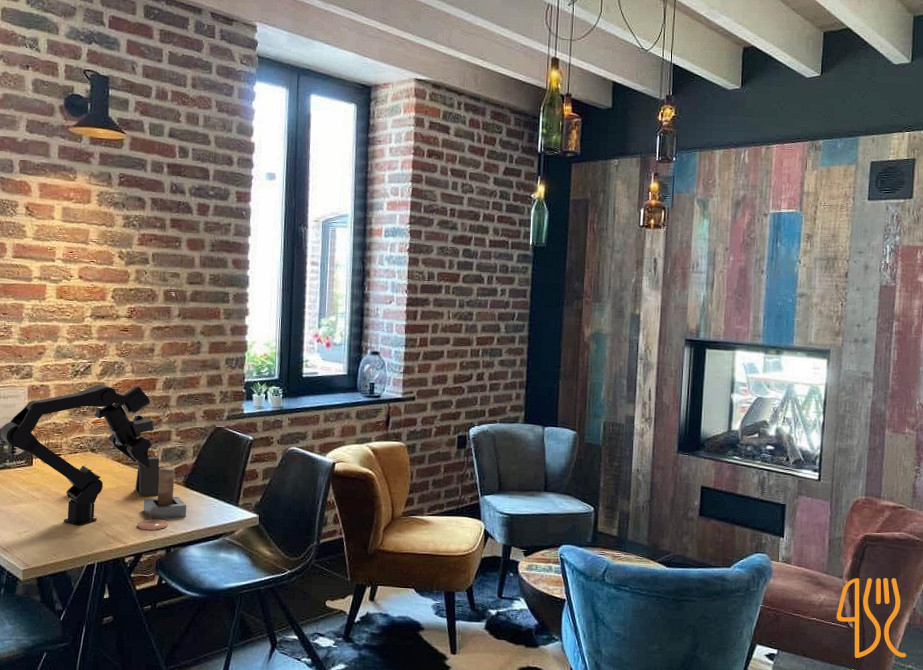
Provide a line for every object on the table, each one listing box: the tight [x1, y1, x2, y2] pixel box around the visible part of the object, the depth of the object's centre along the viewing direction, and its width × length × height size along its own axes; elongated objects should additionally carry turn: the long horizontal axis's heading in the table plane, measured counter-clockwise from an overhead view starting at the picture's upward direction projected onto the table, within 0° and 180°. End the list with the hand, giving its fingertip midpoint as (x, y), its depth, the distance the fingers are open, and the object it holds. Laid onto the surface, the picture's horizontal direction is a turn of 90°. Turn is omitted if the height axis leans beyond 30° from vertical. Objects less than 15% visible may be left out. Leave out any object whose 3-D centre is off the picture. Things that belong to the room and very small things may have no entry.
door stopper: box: [134, 456, 160, 497], centre depth 265 cm, size 9×6×12 cm, turn 33°
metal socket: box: [143, 496, 187, 520], centre depth 245 cm, size 10×10×4 cm
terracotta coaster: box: [136, 519, 169, 531], centre depth 232 cm, size 8×8×1 cm
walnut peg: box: [157, 466, 175, 506], centre depth 244 cm, size 4×4×14 cm
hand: (142, 464), depth 243 cm, fingers open, 9 cm apart
